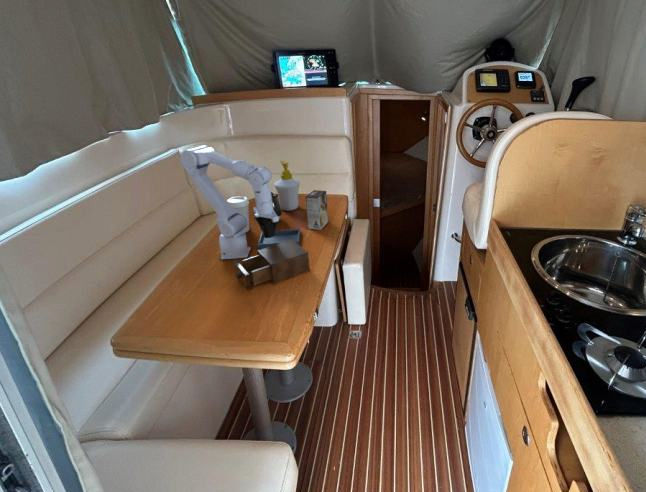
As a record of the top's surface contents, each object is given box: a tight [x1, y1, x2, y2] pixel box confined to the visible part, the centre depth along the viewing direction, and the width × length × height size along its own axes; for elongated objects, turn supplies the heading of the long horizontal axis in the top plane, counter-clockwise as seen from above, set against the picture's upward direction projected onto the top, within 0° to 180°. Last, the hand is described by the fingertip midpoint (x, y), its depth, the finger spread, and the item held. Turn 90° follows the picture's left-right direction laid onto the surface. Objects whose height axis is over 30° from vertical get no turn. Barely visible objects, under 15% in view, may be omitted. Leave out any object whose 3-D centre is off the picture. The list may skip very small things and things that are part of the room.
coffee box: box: [305, 189, 329, 231], centre depth 166 cm, size 9×6×16 cm
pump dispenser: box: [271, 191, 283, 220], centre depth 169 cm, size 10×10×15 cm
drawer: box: [233, 254, 273, 291], centre depth 125 cm, size 14×11×6 cm
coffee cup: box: [226, 195, 250, 233], centre depth 159 cm, size 10×10×15 cm
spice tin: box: [262, 223, 273, 238], centre depth 135 cm, size 4×4×5 cm
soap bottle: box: [273, 160, 301, 212], centre depth 183 cm, size 13×13×25 cm
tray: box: [257, 228, 301, 250], centre depth 153 cm, size 16×12×2 cm
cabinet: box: [257, 240, 310, 285], centre depth 131 cm, size 14×13×8 cm
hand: (268, 234), depth 136 cm, fingers closed on spice tin, 4 cm apart
